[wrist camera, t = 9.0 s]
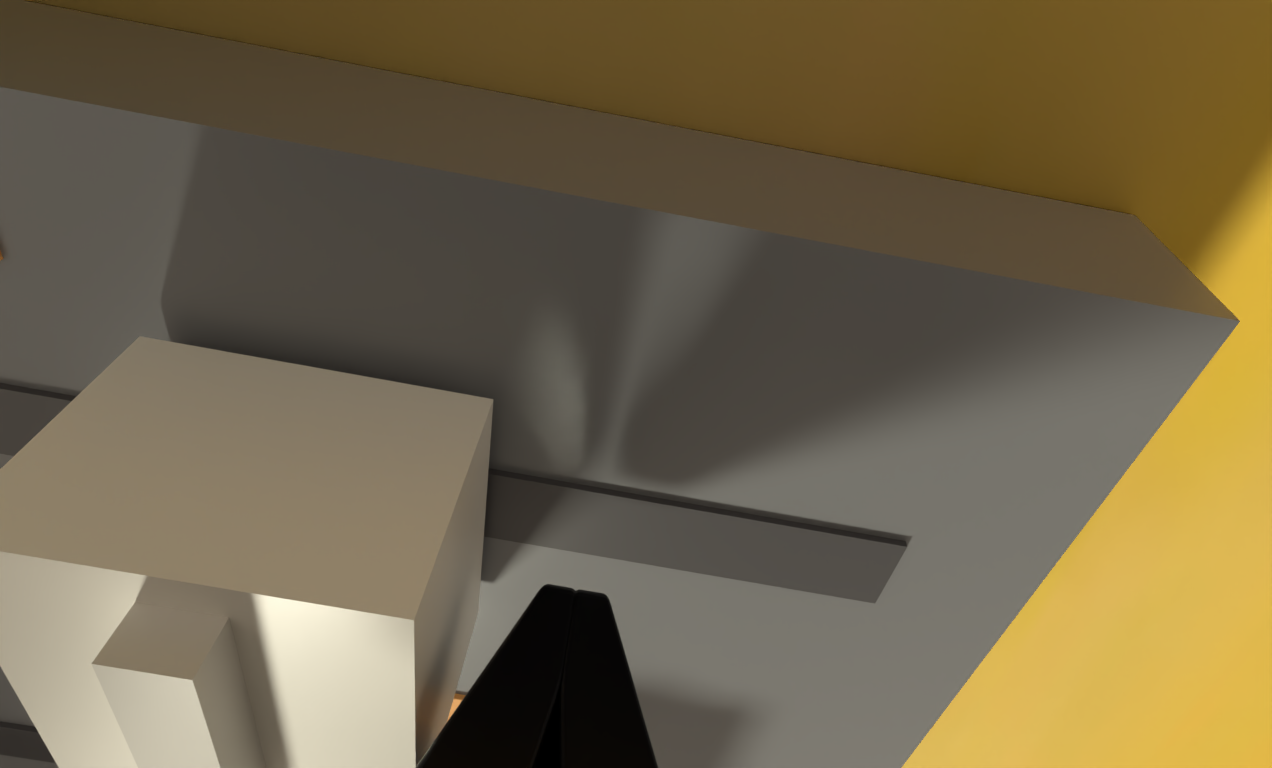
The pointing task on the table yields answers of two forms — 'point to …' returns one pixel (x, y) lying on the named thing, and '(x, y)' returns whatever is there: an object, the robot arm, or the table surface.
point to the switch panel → (617, 355)
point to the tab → (243, 564)
